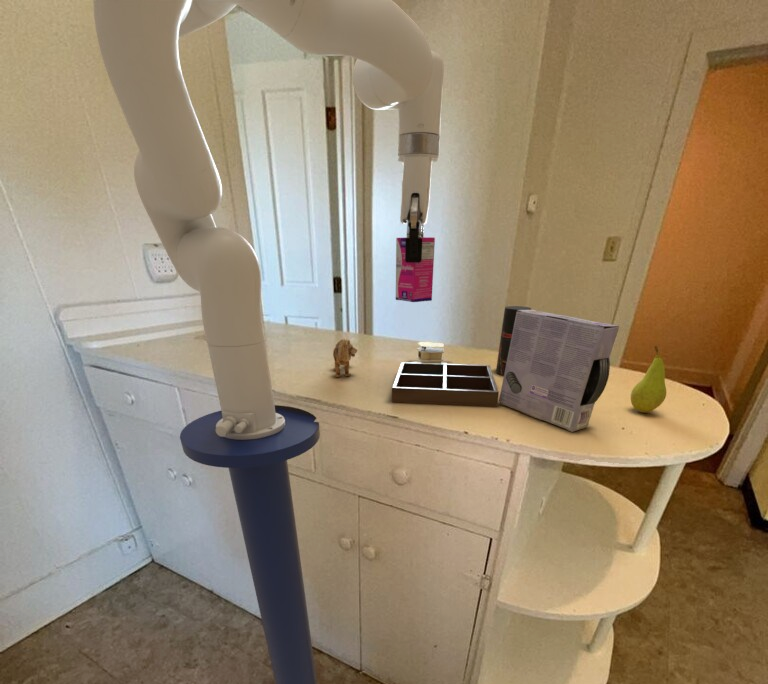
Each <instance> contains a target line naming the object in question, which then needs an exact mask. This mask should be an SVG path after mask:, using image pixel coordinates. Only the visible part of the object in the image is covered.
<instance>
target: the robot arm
mask: <svg viewBox="0 0 768 684" xmlns="http://www.w3.org/2000/svg"><path fill="white" fill-rule="evenodd" d="M92 1H93V15H94V16H93V17H94V25H95V31H96V37H97V42H98V46H99V50H100V55H101V58H102V60H103V64H104V67H105V71H106V73H107V76H108V79H109V81H110V84H111V86H112V89H113V90H114V93H115V95H116V96H115V97H116V98H117V101H118V103H119V105H120V107H121V110H122V112H123V115H124V117H125V120H126V123H127V125H128V127H129V130H130V131H131V134H132V136H133V138H134V141H135V142H136V145H137V148H138V150H139V151H138V153H137V155H136V156H135V160H134V166H133V174H134V175H133V176H134V181H135V185H136V189H137V193H138V195H139V198H140V200H141V203H142V205H143V207H144V209H145V211H146V213H147V215H148V217H149V219H150V222H151V223H152V225H153V227H154V229H155V232H156V234H157V235H158V239H159V240H160V242H161V244H162V246H163V247H164V250H165V252H166V254H167V256H168V257H169V260H170V263H171V264H172V266H173V268H174V269H175V271H176V273H177V274H178V276H179V277H180V278H181V280H182V281H183V282H184V283H185V284H186V285H187V286H188V287H190V288H191V289H193V290H194V291H197V292H199V294H200V306H201V307H200V310H201V317H202V325H203V331H204V336H205V341H206V344H207V345H206V346H207V348H208V355H209V359H210V362H211V368H212V373H213V378H214V382H215V386H216V387H215V388H216V391H217V396H218V401H219V405H220V411H222V416H223V418H222V419H221V420H220V421H218V423H217V424H216V433H217V435H219V436H220V437H225V438H229V439H235V440H251V439H259V438H264V437H268V436H271V435H274V434H276V433H278V432H280V431H281V430H282V429H283V428H284V427H285V419H284V417H283V416H282V415H280V414H278V413H275V405H276V404H275V399H274V392H273V385H272V379H271V370H270V364H269V356H268V349H267V342H266V341H267V340H266V336H265V329H264V322H263V321H264V319H263V312H262V311H263V310H262V309H263V308H262V271H261V265H260V262H259V257H258V256H257V253H256V251H255V249H254V248H253V246H252V245H251V243H250V242H249V241H248V240H247V239H246V238H245V237H244V236H242V235H241V234H240V233H238V232H236V231H234V230H232V229H229V228H225V227H220V226H218V227H217V225H216V221H215V220H214V217H213V215H212V214H214V213H215V212H216V211H217V210H218V208H219V206H220V204H221V203H222V198H223V185H222V180H221V177H220V173H219V171H218V169H217V166H216V163H215V160H214V157H213V155H212V153H211V151H210V148H209V145H208V142H207V140H206V138H205V135H204V132H203V130H202V127H201V124H200V122H199V119H198V117H197V113H196V111H195V108H194V106H193V103H192V100H191V98H190V94H189V91H188V88H187V85H186V82H185V79H184V75H183V71H182V67H181V61H180V53H179V40H180V39H183V38H186V37H187V36H190V35H192V34H194V33H195V32H198V31H200V30H202V29H204V28H206V27H208V26H210V25H212V24H213V23H215V22H217V21H219V20H220V19H222V18H223V17H225V16H226V15H228V14H229V13H230V12H231V11H232V10H233V9H234V8H235V7H237V6H239V7H241V8H242V9H243V10H245V11H246V12H247V13H249V14H250V15H251V16H253V17H255V18H256V19H257V20H258V21H260V23H263V25H265V26H266V27H268V28H270V30H271V31H273V32H275V33H276V34H278V35H279V36H280V38H282V39H283V40H285V41H286V42H288V43H289V44H290V45H292V46H293V47H294V48H295V49H297V50H299V51H301V52H303V53H306V54H309V55H315V56H323V57H326V56H327V57H329V56H332V57H333V56H340V57H349V58H353V59H356V61H355V62H354V65H353V69H352V85H353V89H354V92H355V94H356V96H357V98H358V99H359V101H360V102H361V103H362V104H363V105H364V106H366V107H367V108H369V109H371V110H375V111H386V110H387V111H388V110H396V111H398V130H397V131H398V135H397V137H398V140H397V161H398V162H400V163H402V173H401V195H400V217H399V218H400V220H399V221H400V223H401V224H402V225H404V226H405V225H406V237H405V238H406V246H405V262H407V263H420V262H421V260H422V238H421V237H424V235H425V234H424V230H425V229H424V228H425V225H427V223H428V217H429V209H430V201H431V187H432V186H431V185H432V169H433V167H432V166H433V163H437V162H439V159H440V142H441V140H440V139H441V125H442V107H443V106H442V105H443V88H444V73H445V72H444V66H445V65H444V60H443V58H442V56H441V55H440V54H439V53H438V52H436V51H433V50H432V49H431V45H430V44H429V41H428V39H427V37H426V36H425V34H424V33H423V31H422V29H421V28H420V27H419V25H418V24H417V23H416V22H415V21H414V20H413V19H412V18H411V17H410V16H409V15H408V13H406V12H405V11H404V9H403V8H401V7H400V5H398V4H397V3H396V2H395V1H394V0H92Z"/></svg>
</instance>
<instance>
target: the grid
mask: <svg viewBox="0 0 768 684" xmlns="http://www.w3.org/2000/svg"><path fill="white" fill-rule="evenodd" d="M499 393H500V392H499V389H498V386H497V383H496V379H495V377H494V374H493V372H492V368H491V366H490V364H465V363H460V364H459V363H448V364H435V363H411V362H404V361H403V362H401V363H400V365H399V368H398V370H397V374H396V375H395V379H394V381H393V384H392V387H391V403H401V404H403V403H404V404H426V405H448V406H469V407H470V406H471V407H494V408H495V407H496V408H497V406H498V401H499V395H500V394H499Z"/></svg>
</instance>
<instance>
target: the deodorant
mask: <svg viewBox="0 0 768 684" xmlns="http://www.w3.org/2000/svg"><path fill="white" fill-rule="evenodd" d="M517 310H532V308H531V307H529V306H521V305H509V306H508V305H507V306H505V307H504V312H503V318H502V324H501V325H502V326H501V331H500V332H501V333H500V340H499V347H498V354H497V361H496V367H495V374H498V375H500V376H504V373H505V368H506V363H507V358H508V353H509V348H510V343H511V338H512V333H513V328H514V323H515V318H516V313H517Z"/></svg>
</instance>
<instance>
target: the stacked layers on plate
mask: <svg viewBox="0 0 768 684" xmlns="http://www.w3.org/2000/svg"><path fill="white" fill-rule="evenodd" d="M417 345H418V346H420V347H416V348H417V349H416V350H417V353H418V354H417V356H416V358H417V359H418V360H419V361H415V360H414V361H413V360H412V361H410V363H435V364H449V362H447V361H446V362H445V361H444V356H443V354H444V353H445V350H444V348H442V347H445V343H442V342H431V341H420V342H417Z"/></svg>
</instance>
